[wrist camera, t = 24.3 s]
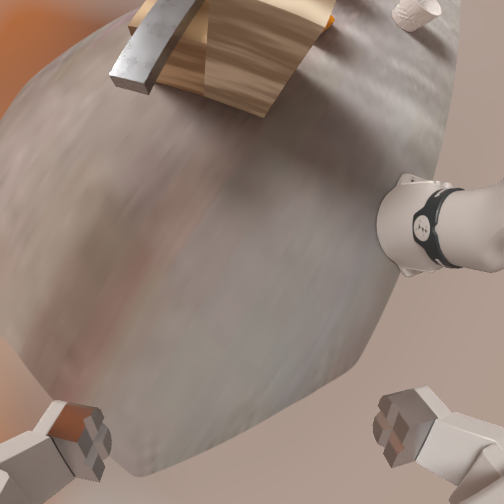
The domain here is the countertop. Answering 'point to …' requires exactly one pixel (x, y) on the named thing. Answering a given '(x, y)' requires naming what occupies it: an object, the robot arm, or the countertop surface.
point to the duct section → (153, 44)
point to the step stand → (242, 49)
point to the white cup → (415, 13)
